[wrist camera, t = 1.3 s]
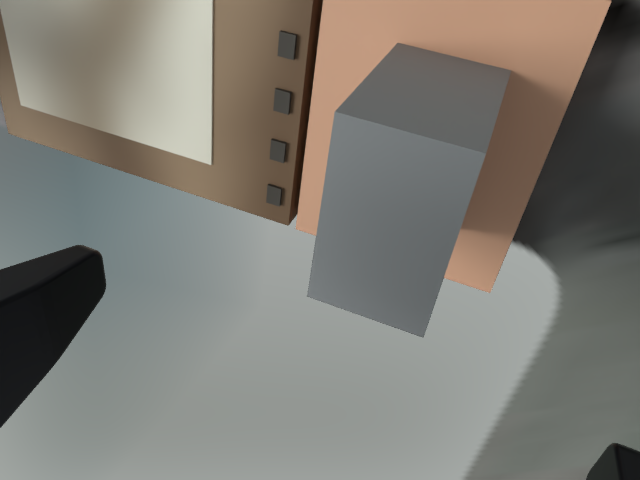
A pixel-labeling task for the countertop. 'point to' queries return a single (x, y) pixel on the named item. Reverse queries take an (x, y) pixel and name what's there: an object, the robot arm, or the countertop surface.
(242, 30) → the board
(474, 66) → the stub
